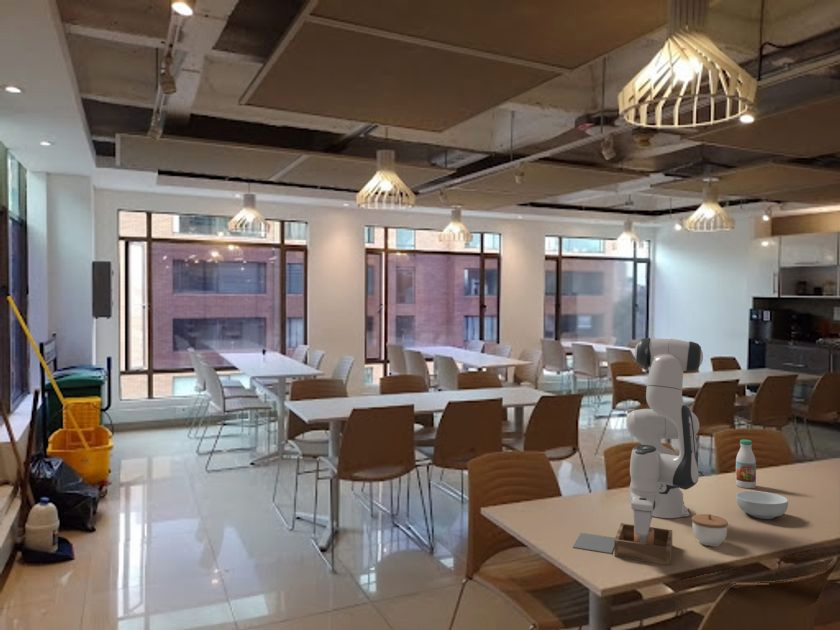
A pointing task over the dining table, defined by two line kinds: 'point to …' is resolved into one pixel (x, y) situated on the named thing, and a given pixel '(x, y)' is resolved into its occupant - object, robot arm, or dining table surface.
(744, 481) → the milk bottle
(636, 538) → the peach cylinder
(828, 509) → the dining table surface
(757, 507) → the cereal bowl
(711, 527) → the lidded jar
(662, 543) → the wooden frame
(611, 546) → the slate mat
